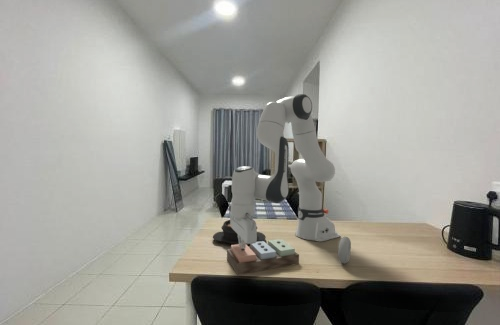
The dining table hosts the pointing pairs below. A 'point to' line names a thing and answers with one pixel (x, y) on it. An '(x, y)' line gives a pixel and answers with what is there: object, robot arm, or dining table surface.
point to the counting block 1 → (243, 254)
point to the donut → (344, 250)
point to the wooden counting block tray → (261, 263)
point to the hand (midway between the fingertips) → (242, 247)
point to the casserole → (232, 234)
